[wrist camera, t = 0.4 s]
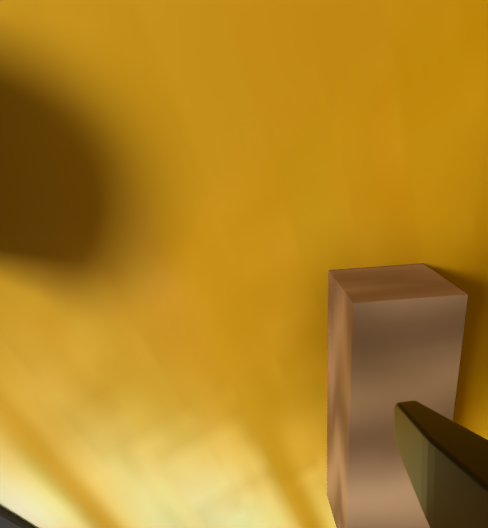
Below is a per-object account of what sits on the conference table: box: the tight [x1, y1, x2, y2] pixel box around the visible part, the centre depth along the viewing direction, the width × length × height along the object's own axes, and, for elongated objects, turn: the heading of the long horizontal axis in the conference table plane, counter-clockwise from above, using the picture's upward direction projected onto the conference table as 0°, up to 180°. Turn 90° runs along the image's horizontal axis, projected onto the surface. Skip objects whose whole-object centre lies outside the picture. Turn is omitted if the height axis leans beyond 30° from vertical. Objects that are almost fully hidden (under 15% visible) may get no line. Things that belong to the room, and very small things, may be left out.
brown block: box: [327, 263, 468, 528], centre depth 23 cm, size 15×5×4 cm, turn 3°
